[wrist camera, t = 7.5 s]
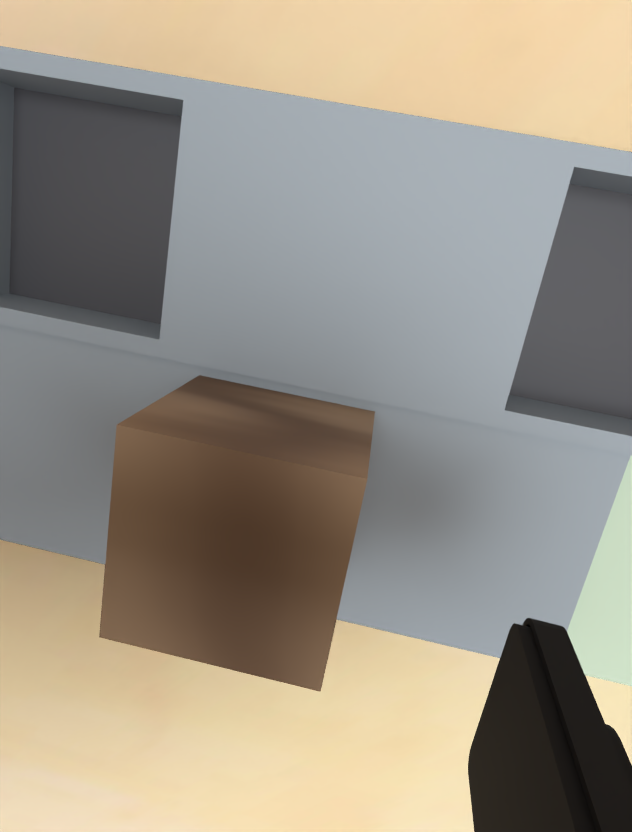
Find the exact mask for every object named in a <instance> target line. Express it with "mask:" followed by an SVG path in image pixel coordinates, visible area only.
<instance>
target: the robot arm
mask: <svg viewBox="0 0 632 832" xmlns="http://www.w3.org/2000/svg"><path fill="white" fill-rule="evenodd" d="M468 775H469V784H470V794H471V803H472V813H473V822H474V831H475V832H632V765H631V763H630V761H629V758H628V756H627V754H626V751H625V749H624V747H623V744H622V742H621V740H620V738H619V736H618V734H617V733H616V731H615V730H614V729H613V728H612V727H611V726H609V725H606V724H605V723H604V720H603V718H602V715H601V713H600V711H599V708H598V706H597V703H596V701H595V698H594V696H593V694H592V691H591V689H590V686H589V684H588V681H587V679H586V677H585V674H584V672H583V669H582V667H581V665H580V662H579V660H578V657H577V655H576V652H575V650H574V648H573V645H572V643H571V640H570V638H569V636H568V633H567V631H566V629H565V628H564V627H563V626H560V625H556V624H552V623H548V622H544V621H540V620H536V619H532V618H527V619H526V620H525V621H524V622H523V625H519V624H515V623H514V624H513V625H512V626H511V628H510V630H509V633H508V636H507V639H506V642H505V645H504V648H503V651H502V654H501V658H500V661H499V664H498V667H497V670H496V673H495V676H494V679H493V682H492V685H491V688H490V691H489V694H488V697H487V700H486V703H485V706H484V709H483V712H482V715H481V718H480V721H479V724H478V727H477V730H476V733H475V736H474V739H473V742H472V746H471V749H470V754H469V762H468Z"/></svg>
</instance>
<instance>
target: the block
mask: <svg viewBox="0 0 632 832" xmlns="http://www.w3.org/2000/svg"><path fill="white" fill-rule="evenodd" d="M374 416H375V411H370V410H365V409H361V408H356V407H351V406H346V405H341V404H337V403H332V402H327V401H322V400H317V399H312V398H308V397H303V396H298V395H293V394H288V393H283V392H279V391H274V390H269V389H264V388H259V387H254V386H250V385H245V384H240V383H235V382H230V381H226V380H221V379H216V378H211V377H206V376H201V375H199V376H197V377H196V378H194V379H192V380H191V381H189V382H187V383H186V384H184V385H182V386H181V387H179V388H177V389H175V390H174V391H172V392H170V393H169V394H167V395H165V396H164V397H162V398H160V399H159V400H157V401H155V402H154V403H152V404H150V405H149V406H147V407H145V408H144V409H142V410H140V411H139V412H137V413H135V414H134V415H132V416H130V417H129V418H127V419H125V420H124V421H122V422H120V423H119V424H117V426H116V439H115V451H114V463H113V476H112V488H111V500H110V513H109V525H108V537H107V550H106V562H105V574H104V587H103V599H102V611H101V624H100V636H99V637H101V638H105V639H109V640H113V641H117V642H121V643H126V644H130V645H134V646H138V647H142V648H146V649H150V650H154V651H158V652H162V653H166V654H170V655H174V656H178V657H182V658H186V659H190V660H195V661H199V662H203V663H207V664H211V665H215V666H219V667H223V668H227V669H231V670H235V671H239V672H243V673H247V674H251V675H255V676H259V677H263V678H268V679H272V680H276V681H280V682H284V683H288V684H292V685H296V686H300V687H304V688H308V689H312V690H316V691H321V687H322V682H323V678H324V673H325V669H326V664H327V659H328V655H329V650H330V646H331V641H332V637H333V632H334V628H335V623H336V619H337V614H338V610H339V605H340V601H341V596H342V592H343V587H344V583H345V578H346V574H347V569H348V565H349V560H350V555H351V551H352V546H353V542H354V537H355V533H356V528H357V524H358V519H359V515H360V510H361V506H362V501H363V497H364V492H365V488H366V483H367V478H368V469H369V460H370V451H371V443H372V434H373V425H374Z"/></svg>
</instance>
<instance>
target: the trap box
mask: <svg viewBox="0 0 632 832" xmlns="http://www.w3.org/2000/svg"><path fill="white" fill-rule="evenodd" d="M199 375H201V376H206V377H211V378H216V379H221V380H226V381H230V382H235V383H240V384H245V385H250V386H254V387H259V388H264V389H269V390H274V391H279V392H283V393H288V394H293V395H298V396H303V397H308V398H312V399H317V400H322V401H327V402H332V403H337V404H341V405H346V406H351V407H356V408H361V409H365V410H370V411H375V416H374V425H373V434H372V443H371V451H370V460H369V469H368V478H367V483H366V488H365V492H364V497H363V501H362V506H361V510H360V515H359V519H358V524H357V528H356V533H355V537H354V542H353V546H352V551H351V555H350V560H349V565H348V569H347V574H346V578H345V583H344V587H343V592H342V596H341V601H340V605H339V610H338V614H337V620H341V621H346V622H350V623H354V624H358V625H363V626H367V627H371V628H375V629H379V630H384V631H388V632H392V633H396V634H400V635H405V636H409V637H413V638H417V639H422V640H426V641H430V642H434V643H438V644H443V645H447V646H451V647H455V648H459V649H464V650H468V651H472V652H476V653H481V654H485V655H489V656H493V657H497V658H501V654H502V651H503V648H504V645H505V642H506V639H507V636H508V633H509V630H510V628H511V626H512V625H513V624H514V623H515V624H519V625H523V622H524V621H525V620H526V619H527V618H532V619H536V620H540V621H544V622H548V623H552V624H556V625H560V626H563V627H564V628H565V629H566V631H567V633H568V636H569V638H570V640H571V643H572V645H573V648H574V650H575V652H576V655H577V657H578V660H579V662H580V665H581V667H582V669H583V672H584V674H585V675H587V676H591V677H595V678H599V679H603V680H608V681H612V682H616V683H620V684H625V685H629V686H632V152H628V151H622V150H616V149H610V148H604V147H598V146H592V145H586V144H581V143H575V142H569V141H563V140H557V139H551V138H545V137H539V136H533V135H527V134H521V133H515V132H509V131H503V130H497V129H491V128H485V127H479V126H473V125H467V124H461V123H455V122H449V121H443V120H438V119H432V118H426V117H420V116H414V115H408V114H402V113H396V112H390V111H384V110H378V109H372V108H366V107H360V106H354V105H348V104H342V103H336V102H330V101H324V100H318V99H312V98H306V97H300V96H295V95H289V94H283V93H277V92H271V91H265V90H259V89H253V88H247V87H241V86H235V85H229V84H223V83H217V82H211V81H205V80H199V79H193V78H187V77H181V76H175V75H169V74H163V73H158V72H152V71H146V70H140V69H134V68H128V67H122V66H116V65H110V64H104V63H98V62H92V61H86V60H80V59H74V58H68V57H62V56H56V55H50V54H44V53H38V52H32V51H26V50H20V49H15V48H9V47H3V46H0V540H4V541H8V542H13V543H17V544H21V545H25V546H30V547H34V548H38V549H42V550H46V551H51V552H55V553H59V554H63V555H68V556H72V557H76V558H80V559H84V560H89V561H93V562H97V563H101V564H105V562H106V550H107V537H108V525H109V513H110V500H111V488H112V476H113V463H114V451H115V439H116V426H117V424H119V423H120V422H122V421H124V420H125V419H127V418H129V417H130V416H132V415H134V414H135V413H137V412H139V411H140V410H142V409H144V408H145V407H147V406H149V405H150V404H152V403H154V402H155V401H157V400H159V399H160V398H162V397H164V396H165V395H167V394H169V393H170V392H172V391H174V390H175V389H177V388H179V387H181V386H182V385H184V384H186V383H187V382H189V381H191V380H192V379H194V378H196V377H197V376H199Z"/></svg>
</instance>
